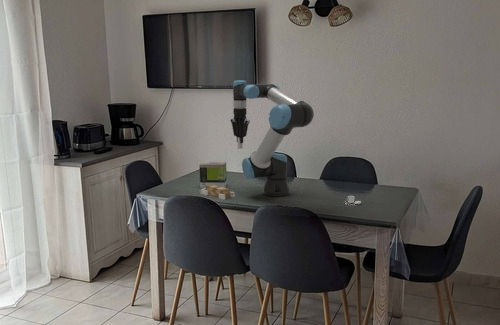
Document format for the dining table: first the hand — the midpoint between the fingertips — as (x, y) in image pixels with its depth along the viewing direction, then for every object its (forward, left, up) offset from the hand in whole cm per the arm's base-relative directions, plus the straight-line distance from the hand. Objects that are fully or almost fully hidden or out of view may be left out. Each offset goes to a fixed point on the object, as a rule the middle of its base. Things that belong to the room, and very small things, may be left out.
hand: (240, 148), depth 287 cm
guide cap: (-8, +18, -25) cm, 32 cm away
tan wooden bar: (0, +19, -25) cm, 31 cm away
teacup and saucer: (-66, -16, -25) cm, 73 cm away
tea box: (+17, +6, -25) cm, 31 cm away
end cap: (+7, +18, -25) cm, 32 cm away
